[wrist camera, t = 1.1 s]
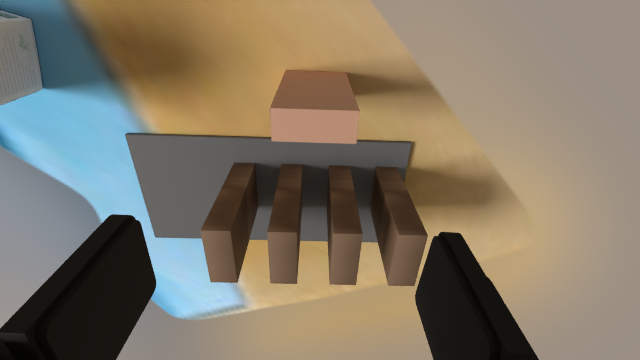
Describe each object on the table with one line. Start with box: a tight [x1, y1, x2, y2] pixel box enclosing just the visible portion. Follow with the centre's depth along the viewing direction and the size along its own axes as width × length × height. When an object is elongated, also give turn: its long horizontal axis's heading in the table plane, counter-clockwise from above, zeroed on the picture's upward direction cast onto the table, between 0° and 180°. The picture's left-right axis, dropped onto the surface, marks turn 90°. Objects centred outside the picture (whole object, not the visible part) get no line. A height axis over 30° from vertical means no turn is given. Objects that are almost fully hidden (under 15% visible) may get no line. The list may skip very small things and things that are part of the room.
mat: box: [125, 133, 412, 242], centre depth 32 cm, size 12×26×1 cm, turn 88°
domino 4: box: [326, 165, 363, 285], centre depth 27 cm, size 2×5×10 cm, turn 178°
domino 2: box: [267, 164, 303, 284], centre depth 27 cm, size 2×5×10 cm, turn 178°
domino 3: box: [270, 70, 360, 144], centre depth 22 cm, size 2×5×10 cm, turn 88°
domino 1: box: [200, 162, 258, 283], centre depth 27 cm, size 2×5×10 cm, turn 178°
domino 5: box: [370, 166, 428, 286], centre depth 27 cm, size 2×5×10 cm, turn 178°
